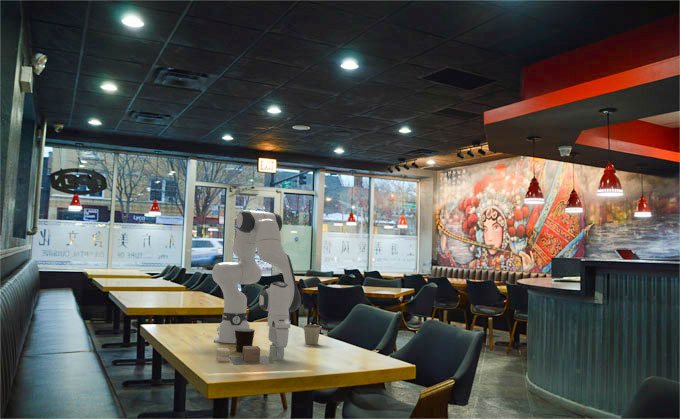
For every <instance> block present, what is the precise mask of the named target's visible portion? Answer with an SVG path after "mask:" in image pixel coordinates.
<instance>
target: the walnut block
mask: <svg viewBox="0 0 680 419" xmlns="http://www.w3.org/2000/svg"><path fill="white" fill-rule="evenodd" d="M242 356H243V357H242V359H243V360H244V361H245V362H254V361H260V356H261V348H260V347H259V345H252V346H243V353H242Z"/></svg>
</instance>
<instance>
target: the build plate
mask: <svg viewBox="0 0 680 419" xmlns="http://www.w3.org/2000/svg"><path fill="white" fill-rule="evenodd" d="M242 357H243V355H241V356H239V355H238V356H229V361H231V363H232V364H233V366H240V365H241V366H242V365H247V366H248V365H269V364H270V365H273V364H275V362H274V361H273V360H272V359H270V358H269V357H268V355H260V361H254V362H245V361H244V360H243V359H242Z"/></svg>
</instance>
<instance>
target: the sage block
mask: <svg viewBox="0 0 680 419" xmlns="http://www.w3.org/2000/svg"><path fill="white" fill-rule="evenodd" d="M276 352H277V346H276V345H272V344H269V357H268V358H269V359H270V360H271V361H278V360H282V361H283V360H285V348H282V351H281V357H277V356H276Z"/></svg>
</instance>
